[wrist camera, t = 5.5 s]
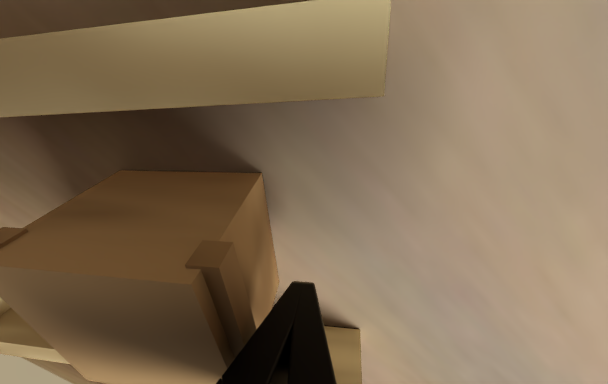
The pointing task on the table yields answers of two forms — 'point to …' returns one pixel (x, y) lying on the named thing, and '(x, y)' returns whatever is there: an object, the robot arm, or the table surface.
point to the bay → (198, 87)
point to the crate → (147, 275)
